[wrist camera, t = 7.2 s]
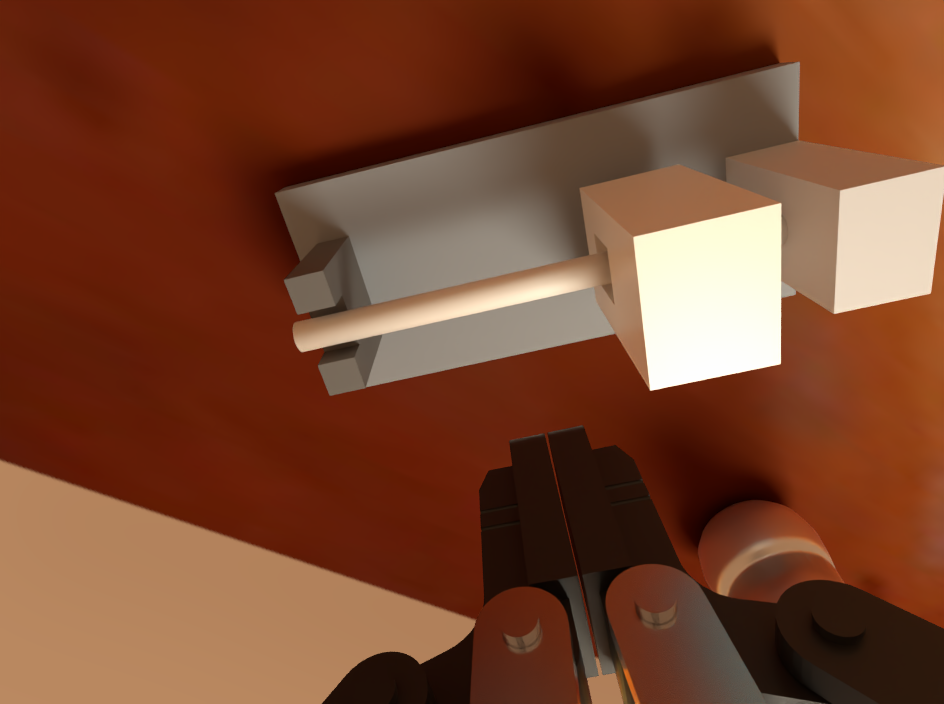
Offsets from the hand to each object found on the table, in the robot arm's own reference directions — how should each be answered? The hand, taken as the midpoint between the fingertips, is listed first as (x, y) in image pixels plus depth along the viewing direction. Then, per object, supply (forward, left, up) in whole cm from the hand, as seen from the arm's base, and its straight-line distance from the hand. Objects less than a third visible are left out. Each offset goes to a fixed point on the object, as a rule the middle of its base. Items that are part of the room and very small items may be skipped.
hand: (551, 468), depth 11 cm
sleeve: (0, +6, -14) cm, 15 cm away
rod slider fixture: (0, +2, -17) cm, 17 cm away
